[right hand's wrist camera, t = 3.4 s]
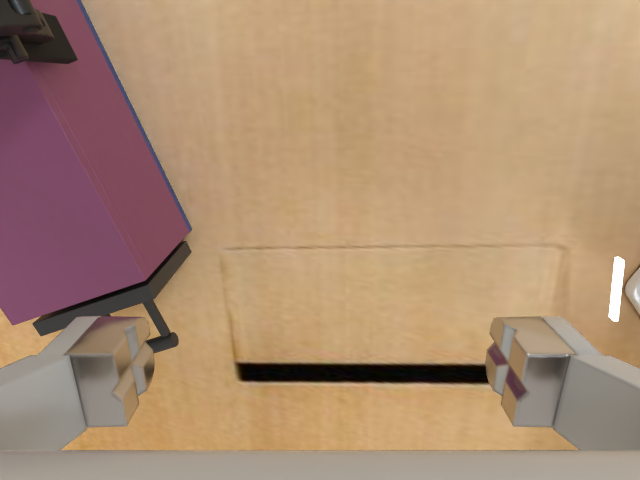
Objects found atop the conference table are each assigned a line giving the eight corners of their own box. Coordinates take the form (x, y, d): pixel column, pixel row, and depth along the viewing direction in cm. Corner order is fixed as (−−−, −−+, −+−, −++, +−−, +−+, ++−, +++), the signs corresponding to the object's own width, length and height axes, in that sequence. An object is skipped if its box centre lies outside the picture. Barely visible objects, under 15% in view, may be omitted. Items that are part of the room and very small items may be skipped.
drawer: (218, 305, 42) (190, 363, 34) (129, 333, 44) (80, 396, 35) (81, 29, 34) (-3, 12, 25) (-24, 75, 35) (-137, 74, 27)
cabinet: (192, 229, 41) (146, 280, 30) (89, 265, 42) (12, 326, 32) (74, -12, 34) (-37, -52, 24) (-43, 41, 35) (-196, 25, 25)
